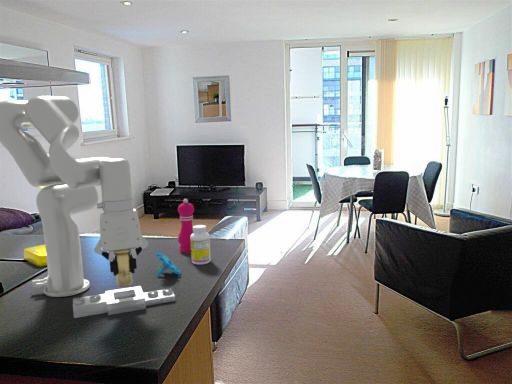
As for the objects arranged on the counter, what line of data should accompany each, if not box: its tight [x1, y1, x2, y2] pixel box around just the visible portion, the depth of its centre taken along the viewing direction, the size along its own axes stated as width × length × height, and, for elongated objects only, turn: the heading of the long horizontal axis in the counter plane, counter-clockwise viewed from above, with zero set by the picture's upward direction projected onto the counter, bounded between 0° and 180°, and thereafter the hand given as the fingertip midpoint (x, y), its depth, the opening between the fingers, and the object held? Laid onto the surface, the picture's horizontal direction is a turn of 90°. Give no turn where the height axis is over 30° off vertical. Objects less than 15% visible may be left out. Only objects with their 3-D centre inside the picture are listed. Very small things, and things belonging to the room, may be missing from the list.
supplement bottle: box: [190, 224, 211, 266], centre depth 157 cm, size 7×7×13 cm
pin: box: [114, 249, 133, 288], centre depth 121 cm, size 5×5×10 cm
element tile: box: [23, 243, 47, 267], centre depth 166 cm, size 15×15×5 cm
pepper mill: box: [177, 198, 195, 254], centre depth 170 cm, size 7×7×20 cm
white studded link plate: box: [72, 285, 176, 319], centre depth 123 cm, size 26×10×4 cm, turn 111°
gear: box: [155, 251, 182, 277], centre depth 145 cm, size 11×6×10 cm
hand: (123, 272), depth 121 cm, fingers closed on pin, 4 cm apart
